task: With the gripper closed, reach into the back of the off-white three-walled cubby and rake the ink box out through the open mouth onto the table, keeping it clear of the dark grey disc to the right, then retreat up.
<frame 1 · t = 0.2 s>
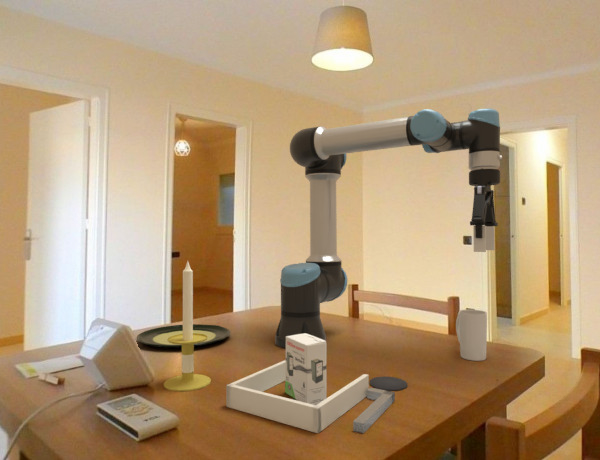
hand: (484, 251, 112), 28 cm above the table, fingers open, 13 cm apart
candle: (187, 383, 93), on the table
dark grey disc: (388, 384, 92), on the table
mug: (469, 356, 114), on the table
cubby: (300, 400, 83), on the table
crook tool: (375, 415, 77), on the table
ink box: (305, 398, 85), on the table
plate: (184, 341, 131), on the table
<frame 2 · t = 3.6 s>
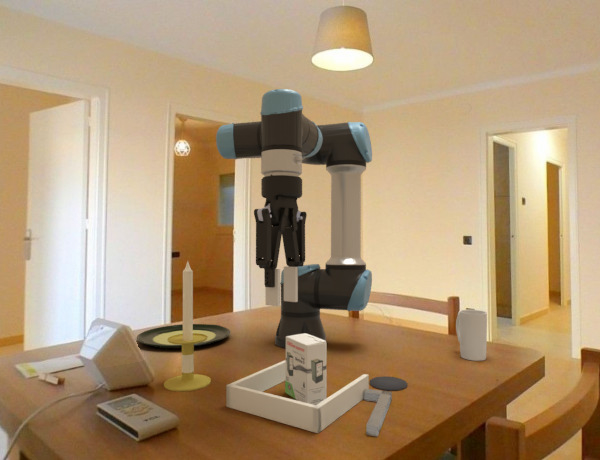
hand: (282, 303, 78), 20 cm above the table, fingers open, 5 cm apart
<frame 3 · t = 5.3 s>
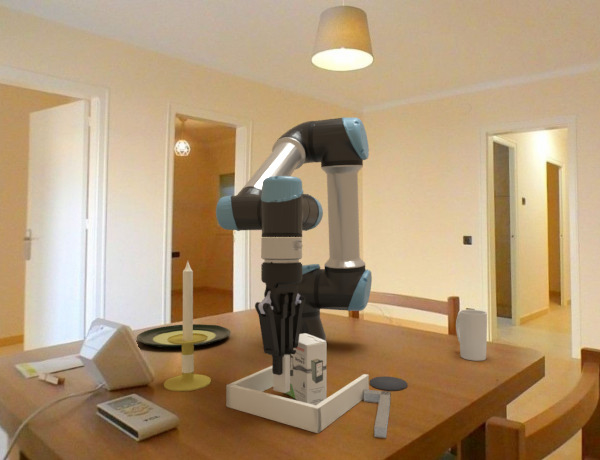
hand: (281, 390, 78), 4 cm above the table, fingers closed
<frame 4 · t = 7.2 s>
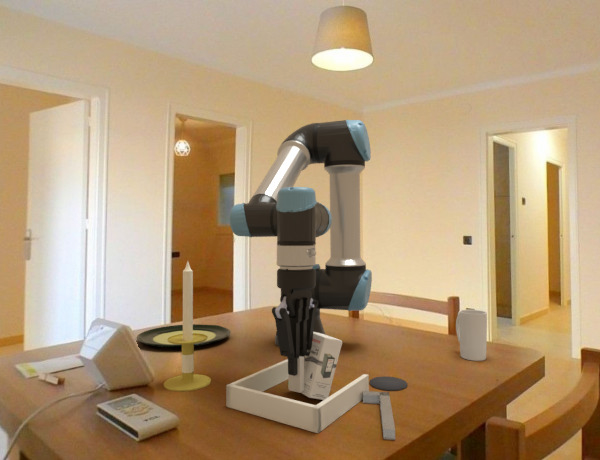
hand: (296, 390, 82), 2 cm above the table, fingers closed
ink box: (306, 393, 85), point 1 cm above the table, touching gripper
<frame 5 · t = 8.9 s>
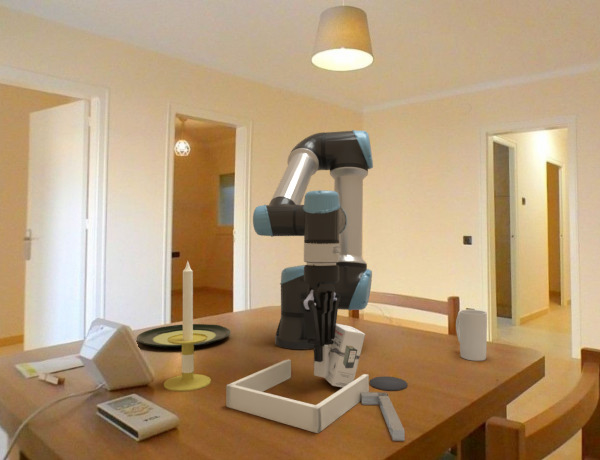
hand: (321, 375, 90), 3 cm above the table, fingers closed
ink box: (334, 382, 92), on the table, touching gripper, hand
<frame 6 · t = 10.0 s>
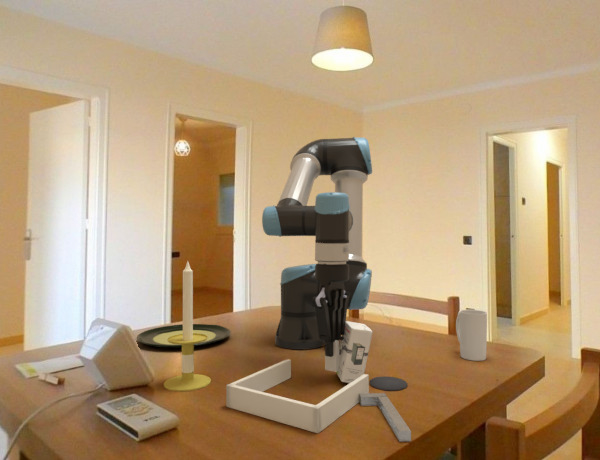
hand: (332, 369, 94), 2 cm above the table, fingers closed
ink box: (347, 378, 95), on the table, touching gripper, hand
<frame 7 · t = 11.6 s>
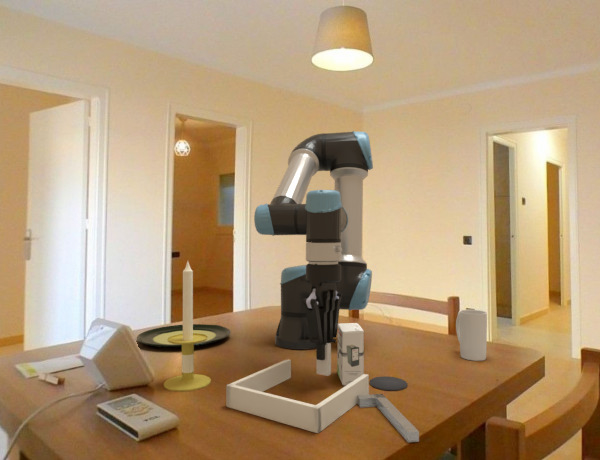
hand: (323, 373, 91), 3 cm above the table, fingers closed
ink box: (350, 380, 96), on the table
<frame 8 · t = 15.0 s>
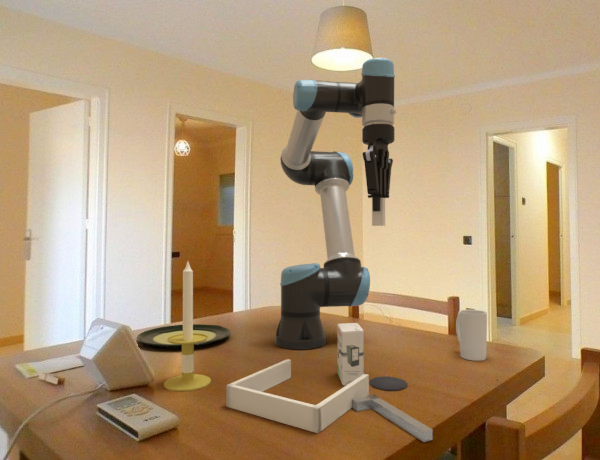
hand: (378, 225, 101), 34 cm above the table, fingers closed
at the end: ink box inside the target area (4.7 cm from its centre), on the table; ink box touching table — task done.
